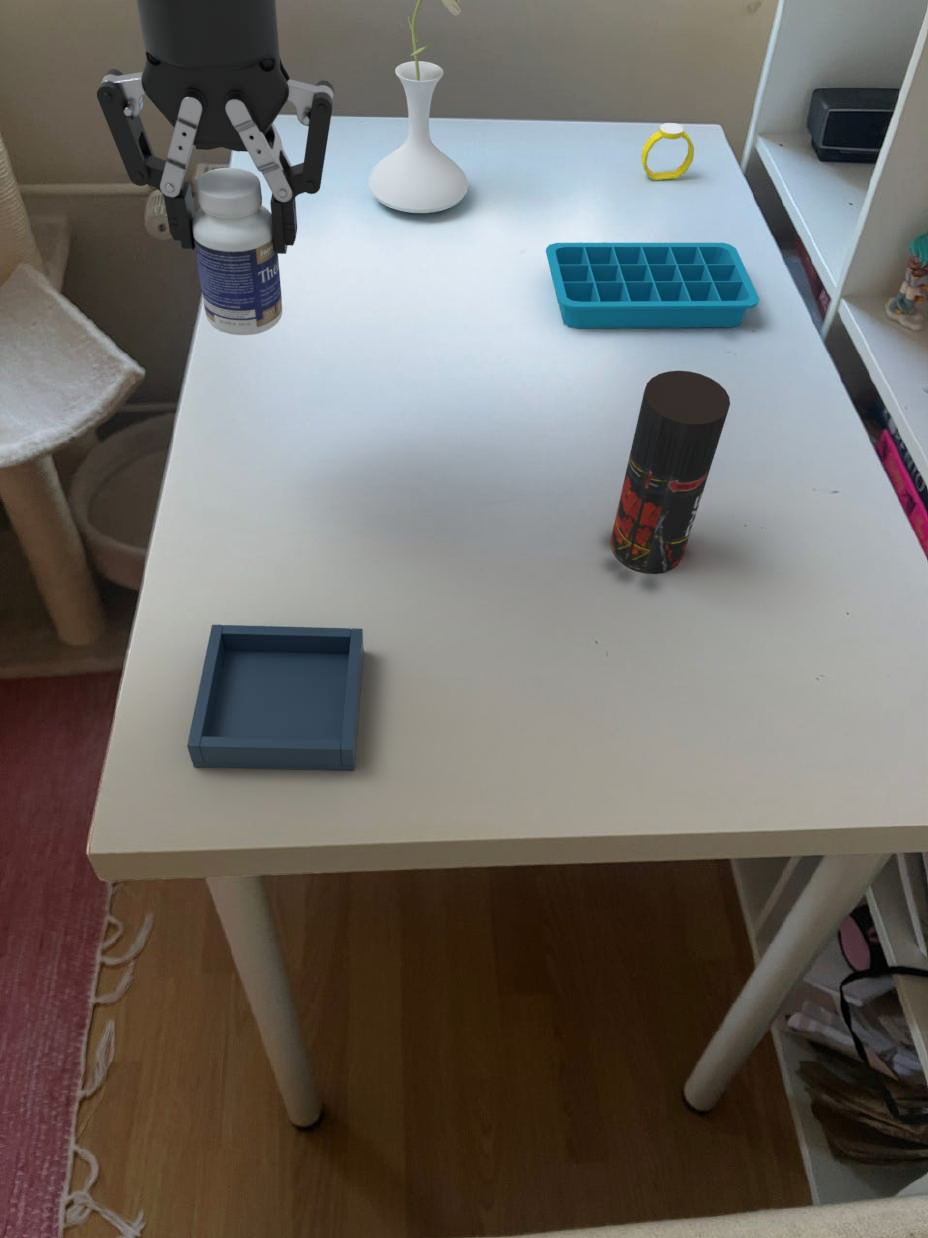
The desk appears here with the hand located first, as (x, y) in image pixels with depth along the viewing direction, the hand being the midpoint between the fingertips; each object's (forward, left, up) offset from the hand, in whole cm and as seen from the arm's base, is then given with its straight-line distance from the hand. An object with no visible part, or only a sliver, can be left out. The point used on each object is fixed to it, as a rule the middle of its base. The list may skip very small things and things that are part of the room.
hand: (236, 244), depth 67 cm
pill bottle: (0, 0, -6) cm, 6 cm away
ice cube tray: (+19, +42, -22) cm, 51 cm away
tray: (+12, -19, -22) cm, 31 cm away
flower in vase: (-11, +50, -22) cm, 55 cm away
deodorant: (+30, +8, -22) cm, 38 cm away
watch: (+13, +68, -22) cm, 72 cm away
